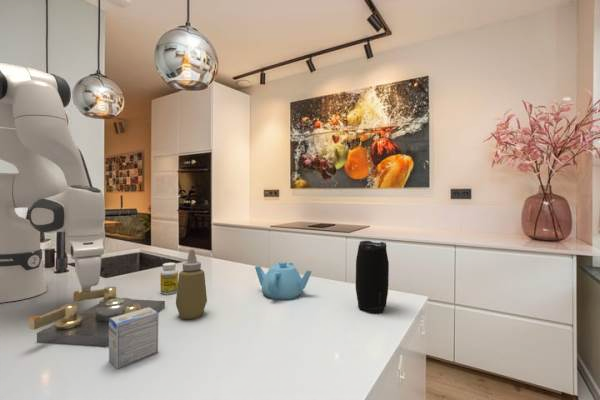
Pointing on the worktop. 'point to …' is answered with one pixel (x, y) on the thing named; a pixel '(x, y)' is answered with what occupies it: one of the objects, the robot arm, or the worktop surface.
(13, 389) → the worktop surface
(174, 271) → the supplement bottle
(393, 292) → the worktop surface
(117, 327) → the medicine box
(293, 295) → the teapot
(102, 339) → the levelling base
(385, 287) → the portable speaker
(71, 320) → the lever
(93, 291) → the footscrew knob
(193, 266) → the squeeze bottle
